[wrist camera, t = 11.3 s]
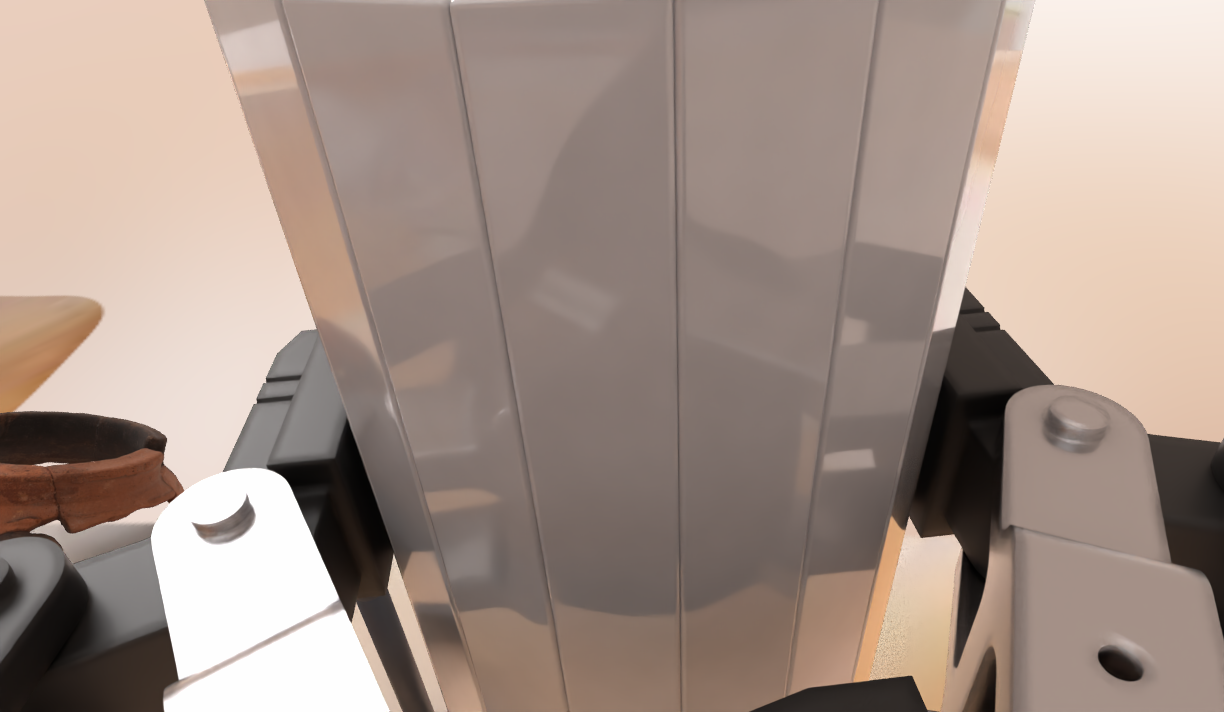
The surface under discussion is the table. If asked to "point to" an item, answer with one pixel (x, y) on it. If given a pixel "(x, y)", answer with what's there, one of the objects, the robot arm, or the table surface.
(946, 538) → the table surface
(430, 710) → the dish rack
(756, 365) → the tumbler
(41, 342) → the table surface
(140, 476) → the pottery mug
